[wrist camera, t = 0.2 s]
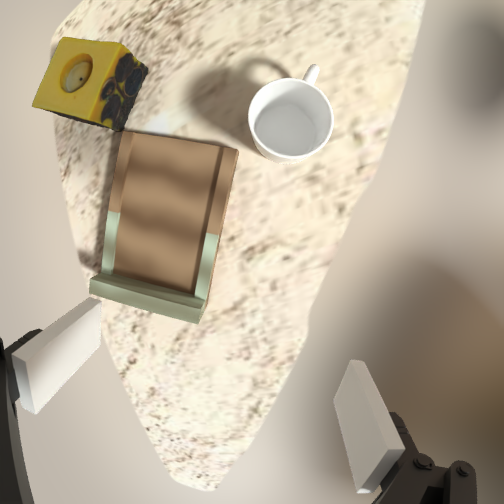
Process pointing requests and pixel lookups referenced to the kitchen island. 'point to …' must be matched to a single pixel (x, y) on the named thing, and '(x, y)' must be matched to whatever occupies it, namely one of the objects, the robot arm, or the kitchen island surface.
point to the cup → (290, 118)
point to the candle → (91, 82)
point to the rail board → (164, 224)
